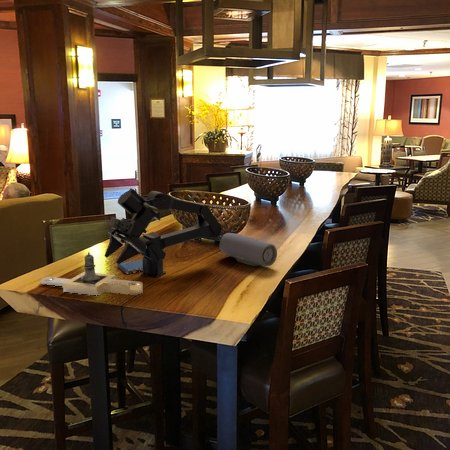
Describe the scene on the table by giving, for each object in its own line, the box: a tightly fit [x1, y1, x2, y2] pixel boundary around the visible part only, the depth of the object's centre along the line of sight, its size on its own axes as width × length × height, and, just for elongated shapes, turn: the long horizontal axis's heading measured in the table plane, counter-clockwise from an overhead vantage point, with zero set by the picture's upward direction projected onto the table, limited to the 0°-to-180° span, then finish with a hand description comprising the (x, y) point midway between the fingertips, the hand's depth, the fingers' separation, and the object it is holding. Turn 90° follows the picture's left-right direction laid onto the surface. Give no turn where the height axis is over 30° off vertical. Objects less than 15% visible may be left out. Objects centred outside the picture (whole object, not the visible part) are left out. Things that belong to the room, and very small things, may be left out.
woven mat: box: [116, 259, 143, 275], centre depth 178 cm, size 10×11×2 cm
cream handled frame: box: [40, 276, 105, 297], centre depth 159 cm, size 24×12×2 cm, turn 74°
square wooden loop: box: [62, 271, 144, 296], centre depth 156 cm, size 24×12×3 cm, turn 74°
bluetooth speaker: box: [219, 232, 278, 267], centre depth 183 cm, size 23×9×10 cm, turn 41°
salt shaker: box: [81, 251, 100, 284], centre depth 157 cm, size 6×6×12 cm
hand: (111, 260), depth 160 cm, fingers open, 9 cm apart
